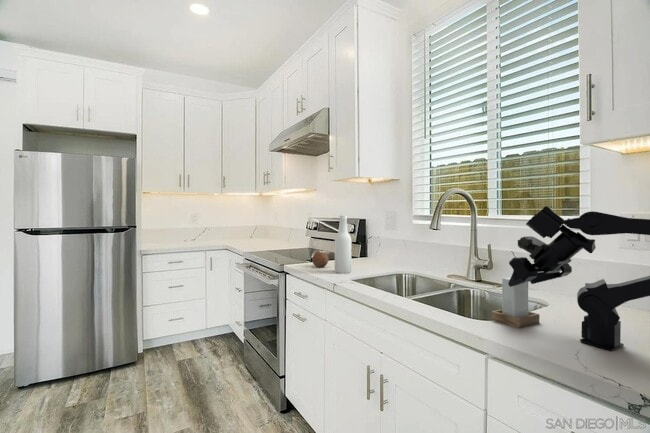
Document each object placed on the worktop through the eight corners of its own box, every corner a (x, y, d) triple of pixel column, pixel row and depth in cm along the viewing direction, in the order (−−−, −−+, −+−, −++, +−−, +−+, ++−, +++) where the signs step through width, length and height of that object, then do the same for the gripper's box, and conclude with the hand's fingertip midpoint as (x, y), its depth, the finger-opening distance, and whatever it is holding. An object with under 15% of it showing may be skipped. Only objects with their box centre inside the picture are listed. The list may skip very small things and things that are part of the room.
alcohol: (331, 271, 177) (331, 215, 177) (343, 270, 182) (344, 215, 182) (342, 274, 170) (342, 215, 170) (354, 272, 176) (355, 215, 175)
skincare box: (515, 315, 102) (515, 276, 101) (528, 319, 98) (529, 278, 98) (501, 318, 99) (501, 277, 99) (514, 322, 95) (514, 280, 95)
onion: (314, 271, 194) (307, 256, 196) (328, 266, 198) (321, 250, 200) (318, 268, 185) (312, 251, 187) (333, 262, 189) (326, 246, 191)
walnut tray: (539, 322, 97) (539, 314, 97) (519, 328, 92) (519, 319, 92) (512, 314, 104) (512, 306, 104) (491, 319, 100) (492, 311, 100)
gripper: (560, 226, 96) (523, 259, 106) (515, 227, 88) (480, 263, 98) (591, 257, 88) (548, 290, 99) (545, 261, 81) (504, 296, 91)
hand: (520, 283), depth 97 cm, fingers open, 9 cm apart
